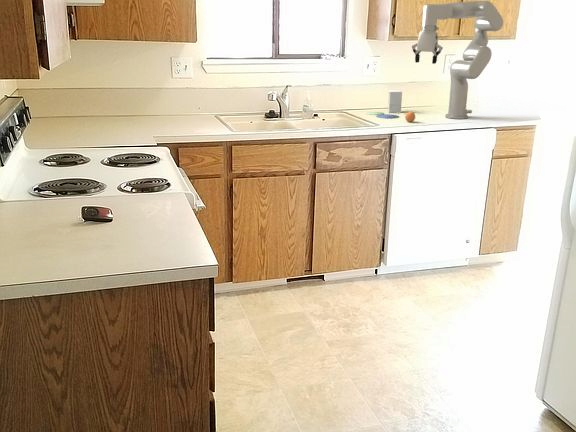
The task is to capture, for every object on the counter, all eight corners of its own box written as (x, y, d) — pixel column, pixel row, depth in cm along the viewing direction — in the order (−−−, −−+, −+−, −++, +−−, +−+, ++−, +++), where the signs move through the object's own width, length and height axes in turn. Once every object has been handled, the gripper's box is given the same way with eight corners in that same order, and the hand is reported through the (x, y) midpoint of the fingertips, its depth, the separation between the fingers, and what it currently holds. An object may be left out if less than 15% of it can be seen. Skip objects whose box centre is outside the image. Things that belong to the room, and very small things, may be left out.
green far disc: (377, 111, 361) (377, 111, 361) (387, 114, 353) (387, 113, 353) (363, 112, 357) (363, 112, 357) (373, 115, 349) (373, 115, 349)
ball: (410, 120, 332) (411, 110, 330) (417, 122, 327) (417, 112, 325) (402, 121, 329) (403, 111, 328) (408, 123, 325) (409, 112, 323)
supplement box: (400, 111, 364) (401, 90, 360) (401, 113, 357) (402, 91, 353) (387, 111, 365) (388, 89, 361) (388, 112, 358) (389, 91, 354)
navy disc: (390, 114, 353) (390, 113, 353) (403, 117, 342) (403, 117, 342) (371, 115, 348) (371, 115, 348) (384, 119, 337) (384, 118, 337)
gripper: (447, 29, 311) (443, 63, 316) (416, 28, 321) (413, 61, 326) (441, 29, 305) (437, 64, 310) (410, 28, 315) (407, 62, 320)
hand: (425, 62), depth 318 cm, fingers open, 9 cm apart
